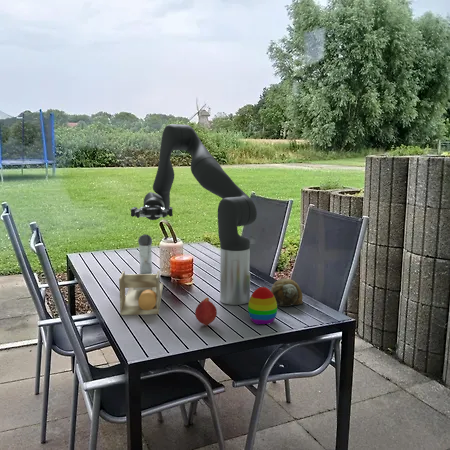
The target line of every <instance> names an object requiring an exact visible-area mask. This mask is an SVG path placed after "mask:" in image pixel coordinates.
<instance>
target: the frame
mask: <svg viewBox="0 0 450 450" xmlns="http://www.w3.org/2000/svg"><path fill="white" fill-rule="evenodd" d="M125 272H126V271H125V270H123V271H122V272H121V274H120V276H119V278H118V281H119V282H118V283H119V309H120V311H119V313H120V316H130V315H131V316H133V315H135V316H137V315H142V316H143V315H159V313H160V308H161V302H162V301H161V300H162V296H163V290H164V289H163V288H164V282H160V278H161V277H160V270H157V272H156V273H152V274H140V273H129V274H128V273H125ZM146 287H153V291H154V292H155V293H156V298H157V301H156V304H155V306H154V308H153V309H151V310H143V309H142V308H141V307H140V306H139V304H138V300H139V298H140V295H141V293H142V292H143V291H145V290H134V288H146ZM126 289H128V290H127V293H126Z"/></svg>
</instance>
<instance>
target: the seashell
mask: <svg viewBox="0 0 450 450" xmlns="http://www.w3.org/2000/svg"><path fill="white" fill-rule="evenodd" d="M270 291H271V292H272V293H273V295H274V297H275V299H276V302H277V306H278V305H279V306H281V307H291V306H294V305H295V306H296V305H302V304H303V303H304V301H303V296H304V295H303V292H302V291H303V290H302V288H301V287H300V285H299V284H298V282H296V281H295V280H293V279H291V278H287V277H285V278H284V277H283V278H280V279H278V280H276V281H274V283H273V284H272V286H271V289H270Z"/></svg>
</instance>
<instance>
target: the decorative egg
mask: <svg viewBox="0 0 450 450" xmlns="http://www.w3.org/2000/svg"><path fill="white" fill-rule="evenodd" d="M247 304H248V305H247V311H248V316H249V318H250V320H251V322H252V323H254V324H256V325H259V324H267V325H270V324H272V323H273V322H274V321H275V319H276V316H277V313H278V304H277V302H276V299H275V297H274V295H273V293H272V292H271V289H269V288H268V287H266V286H260V287H258V288H256V289H255V290H254V291H253V292H252V294H250V300H249V303H247ZM269 323H270V324H269Z"/></svg>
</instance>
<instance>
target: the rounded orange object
mask: <svg viewBox="0 0 450 450" xmlns="http://www.w3.org/2000/svg"><path fill="white" fill-rule="evenodd" d="M156 301H157V298H156V293H155V292H154V291H153V290H145V291H143V292H142V293H141V295H140V298H139V300H138V304H139V306H140V307H141V308H142V309H143V310H151V309H153V308H154V306H155V304H156Z"/></svg>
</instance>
